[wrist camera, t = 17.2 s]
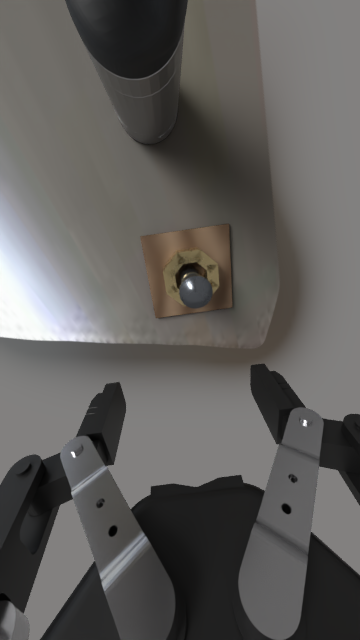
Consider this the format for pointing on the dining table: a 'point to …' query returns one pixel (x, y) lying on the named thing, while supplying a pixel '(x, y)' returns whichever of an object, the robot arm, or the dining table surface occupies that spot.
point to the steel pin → (194, 288)
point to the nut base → (188, 250)
